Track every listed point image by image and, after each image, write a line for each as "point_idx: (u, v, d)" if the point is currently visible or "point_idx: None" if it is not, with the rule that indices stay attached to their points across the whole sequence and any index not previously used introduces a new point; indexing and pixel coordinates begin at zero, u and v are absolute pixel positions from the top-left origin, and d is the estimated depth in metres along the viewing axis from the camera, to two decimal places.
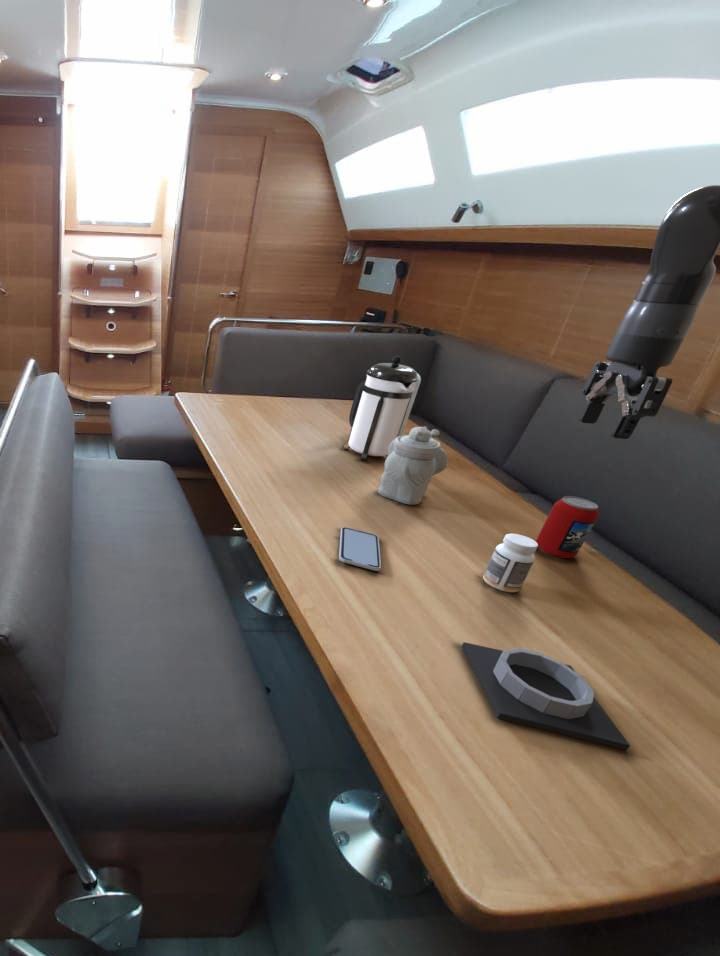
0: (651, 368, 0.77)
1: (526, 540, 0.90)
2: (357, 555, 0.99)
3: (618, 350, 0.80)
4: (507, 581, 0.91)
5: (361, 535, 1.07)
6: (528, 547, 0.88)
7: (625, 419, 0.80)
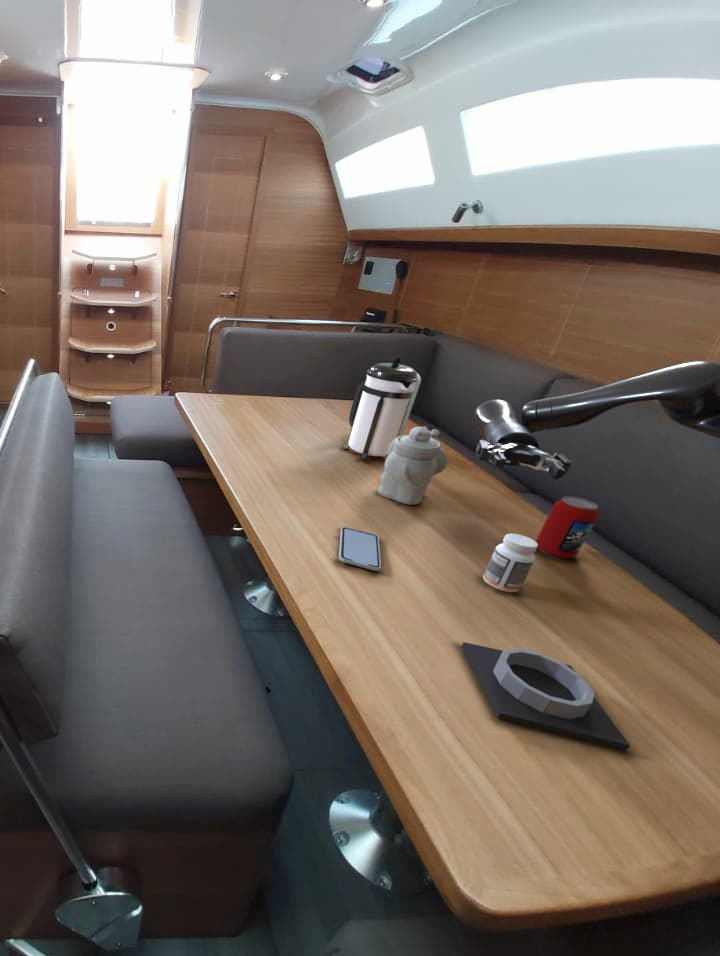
0: None
1: (526, 540, 0.90)
2: (357, 555, 0.99)
3: (527, 432, 1.03)
4: (507, 581, 0.91)
5: (361, 535, 1.07)
6: (528, 547, 0.88)
7: None
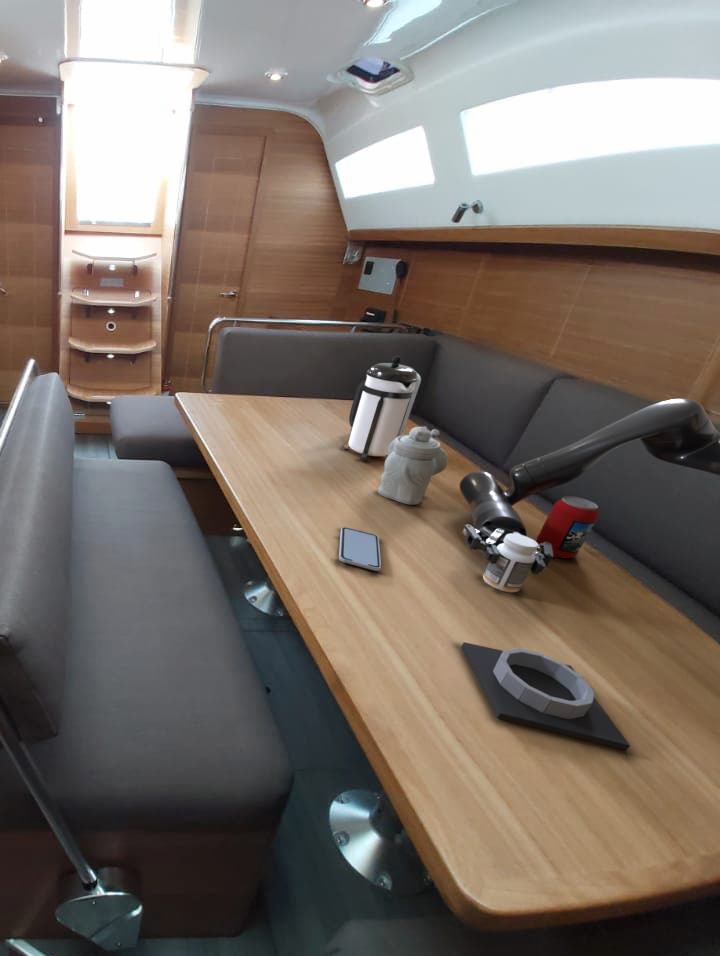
0: None
1: (526, 540, 0.90)
2: (357, 555, 0.99)
3: (514, 516, 0.99)
4: (507, 581, 0.91)
5: (361, 535, 1.07)
6: (528, 547, 0.88)
7: None
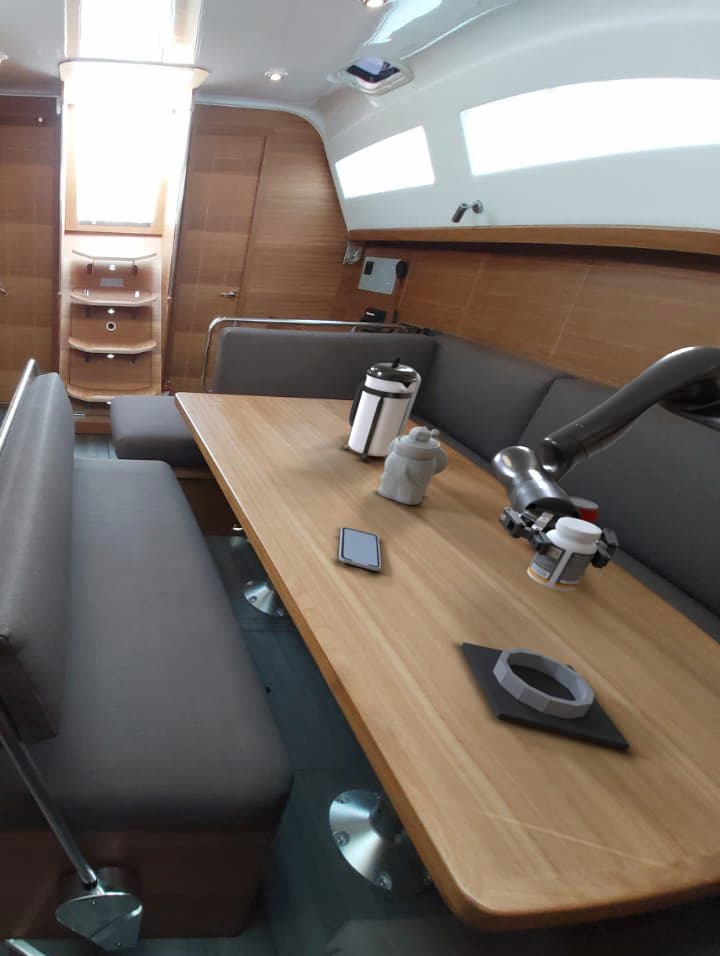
0: None
1: (586, 525, 0.71)
2: (357, 555, 0.99)
3: (564, 497, 0.80)
4: (560, 576, 0.73)
5: (361, 535, 1.07)
6: (590, 534, 0.69)
7: (601, 549, 0.72)
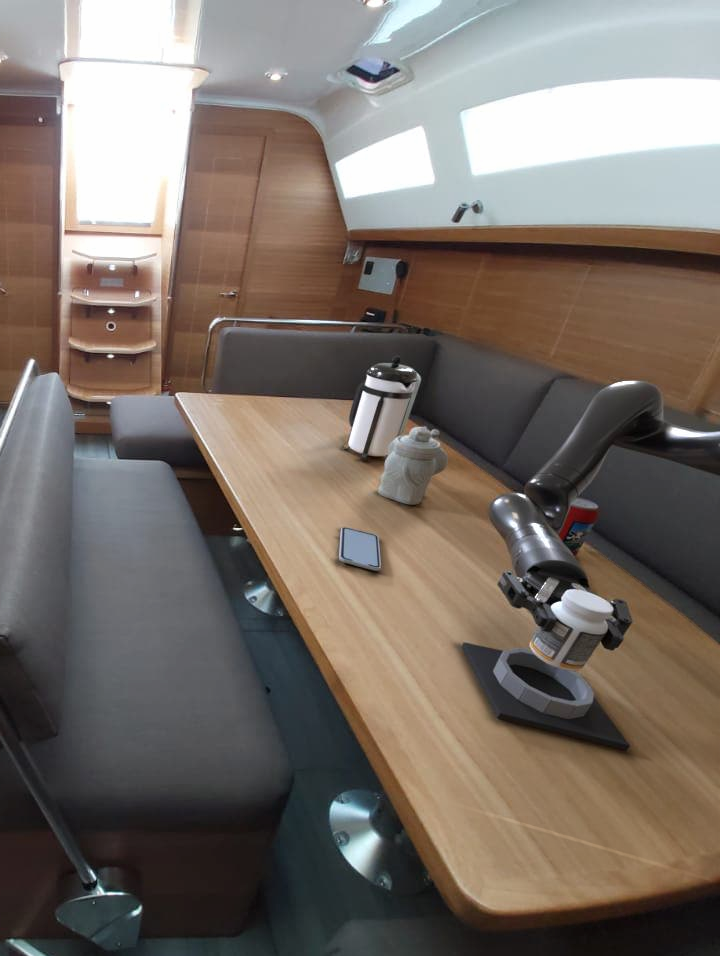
0: None
1: (596, 601, 0.64)
2: (357, 555, 0.99)
3: (570, 560, 0.73)
4: (566, 656, 0.65)
5: (361, 535, 1.07)
6: (600, 613, 0.62)
7: None
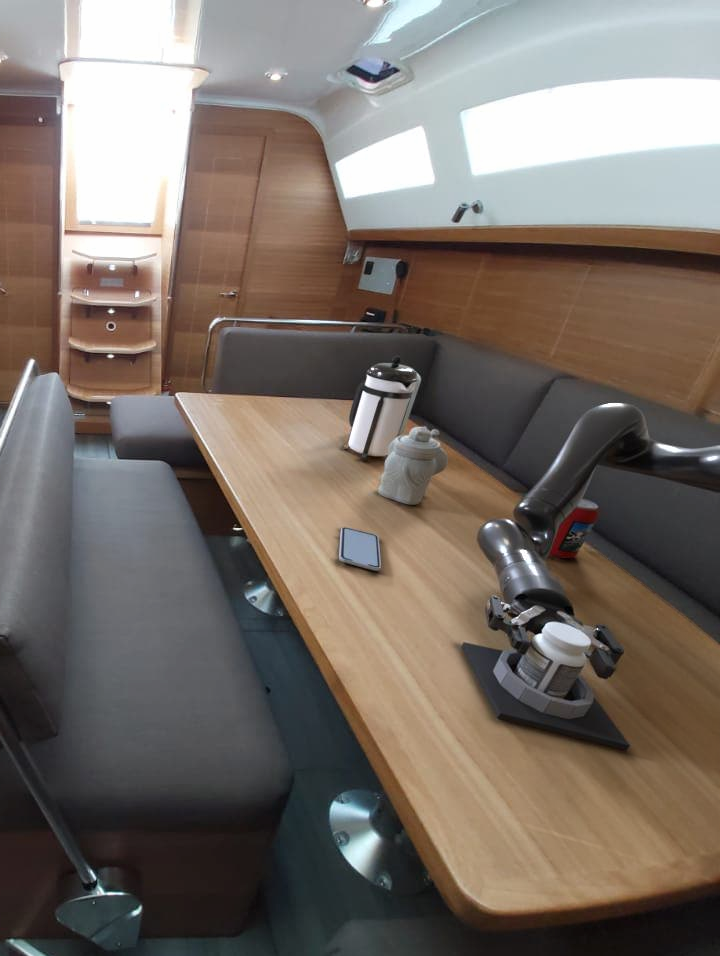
0: None
1: (574, 634, 0.66)
2: (357, 555, 0.99)
3: (556, 588, 0.75)
4: (547, 687, 0.67)
5: (361, 535, 1.07)
6: (578, 646, 0.64)
7: None
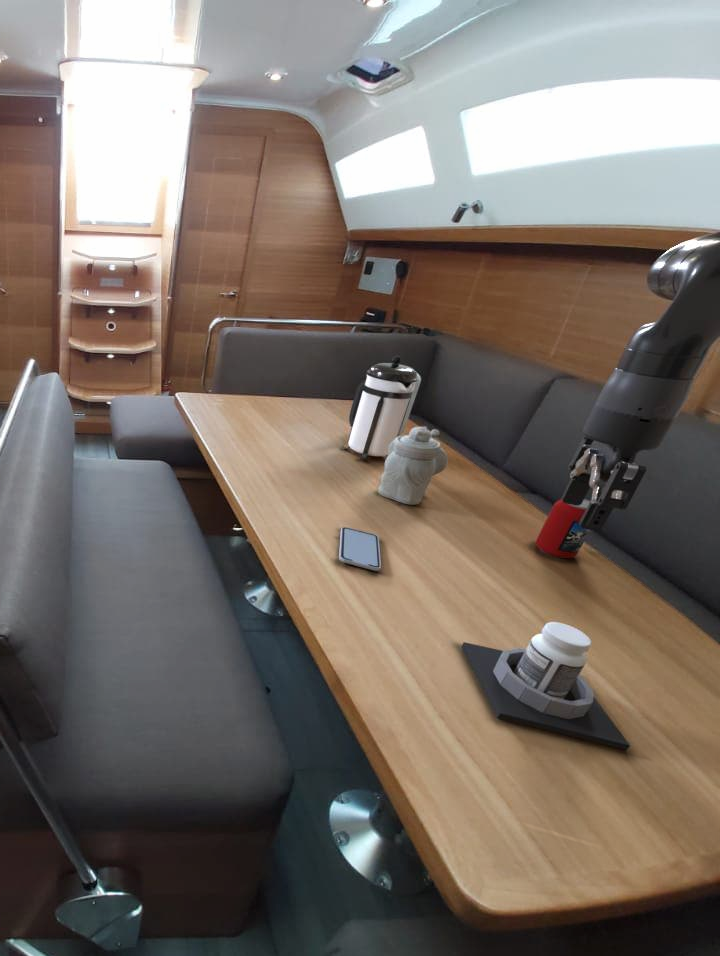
0: None
1: (574, 634, 0.66)
2: (357, 555, 0.99)
3: None
4: (547, 687, 0.67)
5: (361, 535, 1.07)
6: (578, 646, 0.64)
7: None
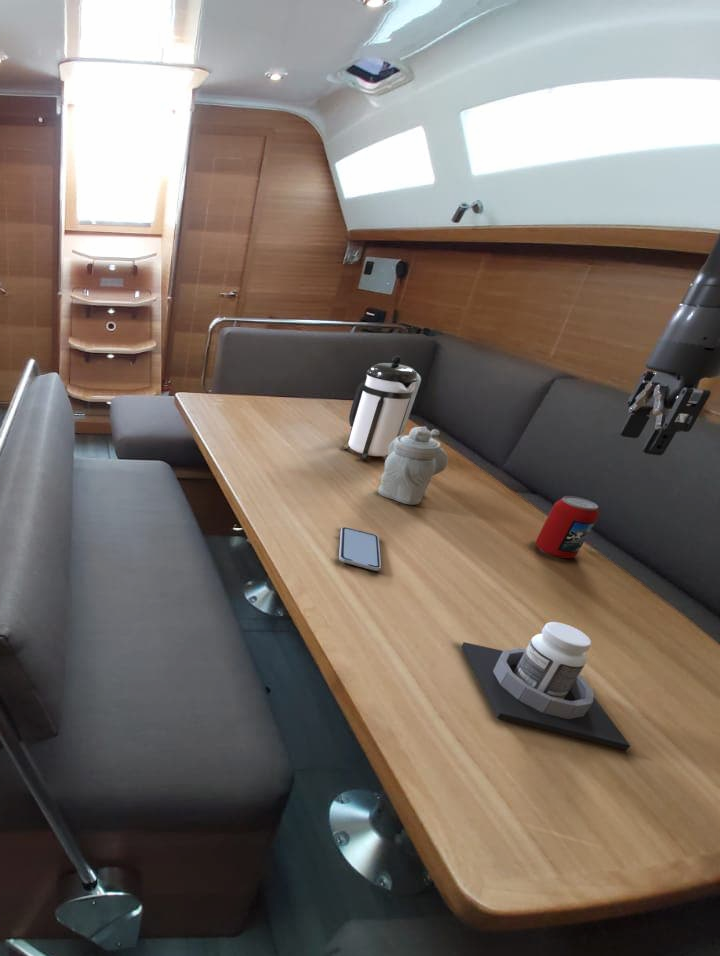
0: None
1: (574, 634, 0.66)
2: (357, 555, 0.99)
3: None
4: (547, 687, 0.67)
5: (361, 535, 1.07)
6: (578, 646, 0.64)
7: None
